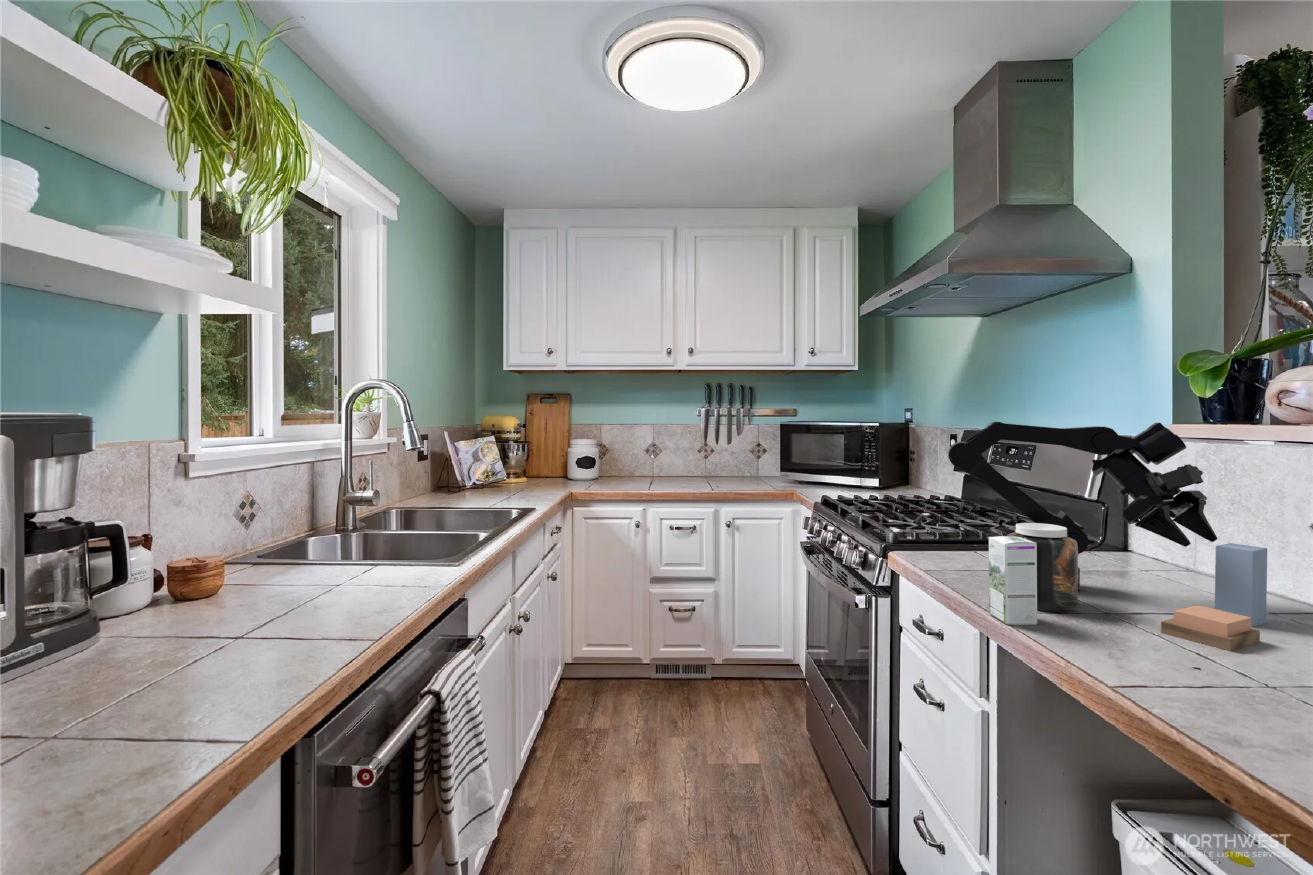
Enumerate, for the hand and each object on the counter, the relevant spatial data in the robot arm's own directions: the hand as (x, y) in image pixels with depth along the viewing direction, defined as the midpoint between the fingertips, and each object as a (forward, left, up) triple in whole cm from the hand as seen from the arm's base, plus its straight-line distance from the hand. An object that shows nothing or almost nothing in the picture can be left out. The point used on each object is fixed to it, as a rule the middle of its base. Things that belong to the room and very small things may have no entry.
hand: (1201, 542), depth 111 cm
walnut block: (-7, -15, -13) cm, 21 cm away
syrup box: (-35, -13, -13) cm, 39 cm away
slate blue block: (+3, -4, -13) cm, 14 cm away
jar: (-26, -1, -13) cm, 29 cm away
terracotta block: (-6, -16, -11) cm, 20 cm away
